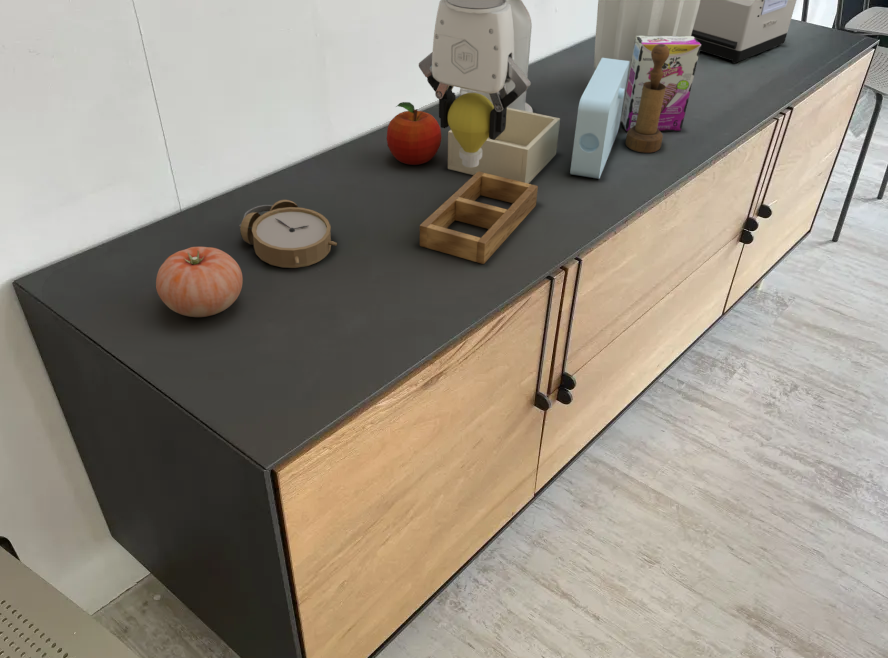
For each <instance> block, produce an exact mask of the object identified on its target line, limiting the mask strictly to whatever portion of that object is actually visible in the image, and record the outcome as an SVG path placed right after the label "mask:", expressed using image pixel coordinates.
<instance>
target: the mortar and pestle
mask: <svg viewBox="0 0 888 658" xmlns="http://www.w3.org/2000/svg"><path fill="white" fill-rule="evenodd" d="M651 57H652V60H653V63H654V67H653V70H651V71H650V81H651V82H645V83H644V84H643V89H642V95H641V100H640V106H639V111H638V116H637V121H636V125H635V126H633V127H632V128H630V129H629V130H628V131H626V132H627V133H626V138H625V146H626V147H627V148H629V150H632V151H633V152H634V151H635V152H638V153H645V154H646V153H647V154H650V153H655V152H657V151H659V150H661V147H662V142H663V137H664V134H663V132H661V131H659V129H658V128H657V127H658V122H659V117H660V112H661V108H662V103H663V98H664V94H665V89H666V86H665V85H664V84H662V83H660V81H661V79H662V76H663V74H664V72H663V71H662V66H663V64H664V63H665V61H666V60H667V59H668V57H669V48H668V47H667V46H666V45H664V44H658V45H656V46H655V47H654V48H653V50H652V52H651Z"/></svg>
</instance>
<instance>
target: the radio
mask: <svg viewBox="0 0 888 658" xmlns="http://www.w3.org/2000/svg"><path fill="white" fill-rule="evenodd" d="M629 65H630V61H625V60H617V59H609V58H602V59H601V61H600V62H599V64H598V66H597V68H596V70H595V69H594V72H593V74H592V76H591V77H590V80H589V81H588V84H587V86H586V87H585V89H584V91H583V93H582V95H581V97H580V99H579V103H578V108H577V116H576V124H575V129H574V130H575V131H574V137H573V138H574V140H573V146H572V155H571V161H570V162H571V163H570V169H569V170H570V172H569V174H570V175H573V176H579V177H584V178H593V179H598V180H600V179H601V176H602V174H603V171H604V169H605V166H606V164H607V162H608V161H607V160H608V158H609V157H610V154H611V151H612V148H613V146H614V143H615V140H616V139H617V136H618V133H619V129H620V124H621V116H622V110H623V102H624V96H625V90H626V84H627V78H628V71H629Z"/></svg>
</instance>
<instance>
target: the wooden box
mask: <svg viewBox="0 0 888 658" xmlns="http://www.w3.org/2000/svg"><path fill="white" fill-rule="evenodd" d="M560 121H561V118H559V117H554V116H551V115H545V114H541V113H536V112H533V113H532V112H527V111H522V110H518V109H513V108H508V107H507V113H506V127H505V130H504V131H503V132H502V133H501V134H500V135H499V136H498V137H497V138H496V139H495V140H492V139H490V138H489V137H488V139H487V140H486V141H485V143H484V144H483V145H482V146H481V149H482V158H481V159H480V160H479V165H478V166H476V167H465V166H464V165H463V164H462V159H461V158H460V156H459V152H460V148H461V145H460V144H459V143H458V141H457V140H456V138H455V137H454V135H453V133H452V131H451V129H449V130H448V132H447V169H448V170H451V171H455V172H459V173H463V174H467V175H471V176H474V175H475V174H476V173H477V172H478V171H479V172H483V173H487V174H491V175H495V176H499V177H503V178H507V179H512V180H516V181H520V182H524V183H528V184H531V182H532V181H533V180H534V179H535V178H536V177H537V176H538V174H539V173H540V172H541V171H542V170H543V169H544V168H545V167H546V166H547V165H548V164H549V163H550V162H551V161H552V160H553V158H555V156H556V155H557V150H558V143H559V142H558V141H559V131H560V123H561V122H560Z"/></svg>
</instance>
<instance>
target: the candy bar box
mask: <svg viewBox="0 0 888 658" xmlns="http://www.w3.org/2000/svg"><path fill="white" fill-rule="evenodd" d="M658 44H664V45H666V46H667V47H668V48H669V57H668V59H667V60H666V61H665V63H664V64H663V66H662V71H663V72H664V74H663V76H662V79H661V81H660V83H662V84H664V85H665V86H666V89H665V94H664V98H663V103H662V108H661V112H660V117H659V122H658V127H657V128H658V129H659V131H660V132H661V131H662V132H667V131H668V132H671V131H672V132H673V131H674V132H675V131H676V132H680V131H682V128H683V124H684V120H685V115H686V111H687V108H688V103H689V99H690V94H691V90H692V85H693V82H694V79H695V78H694V77H695V73H696V68H697V65H698V61H699V58H700V57H699V56H700V53H701V51H700V48H701V44H700V43H699V42H698V41H697V40H696V38H695V37H694V36H636V38H635V43H634V49H633V55H632V59H631V65H630V71H629V77H628V83H627V88H626V93H625V99H624V104H623V108H622V114H621V120H620V124H622V126H623V129H624V130H625V131H626V132H628V130H629V129H630V128H632V127H633V126H635V125H636V121H637V116H638V111H639V106H640V100H641V95H642V89H643V84H644V83H645V82H651V81H650V71H651V70H653V67H654V63H653V60H652V57H651V52H652V50H653V48H654V47H655V46H656V45H658Z"/></svg>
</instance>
